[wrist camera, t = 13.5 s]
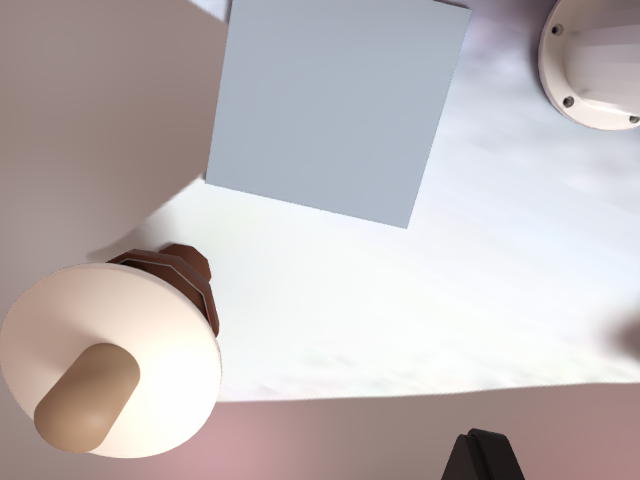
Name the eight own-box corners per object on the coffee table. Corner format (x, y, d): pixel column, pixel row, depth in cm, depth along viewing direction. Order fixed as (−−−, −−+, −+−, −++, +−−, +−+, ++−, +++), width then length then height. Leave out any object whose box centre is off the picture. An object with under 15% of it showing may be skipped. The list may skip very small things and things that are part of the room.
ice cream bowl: (100, 248, 47) (-2, 329, 33) (203, 196, 45) (141, 259, 31) (162, 339, 50) (92, 449, 36) (261, 294, 48) (229, 393, 34)
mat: (470, 10, 39) (472, 10, 39) (406, 227, 45) (406, 229, 45) (241, -46, 39) (239, -48, 38) (206, 181, 45) (204, 183, 44)
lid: (237, 289, 31) (215, 340, 26) (206, 464, 36) (181, 540, 31) (9, 241, 31) (-65, 282, 25) (8, 425, 36) (-55, 495, 30)
